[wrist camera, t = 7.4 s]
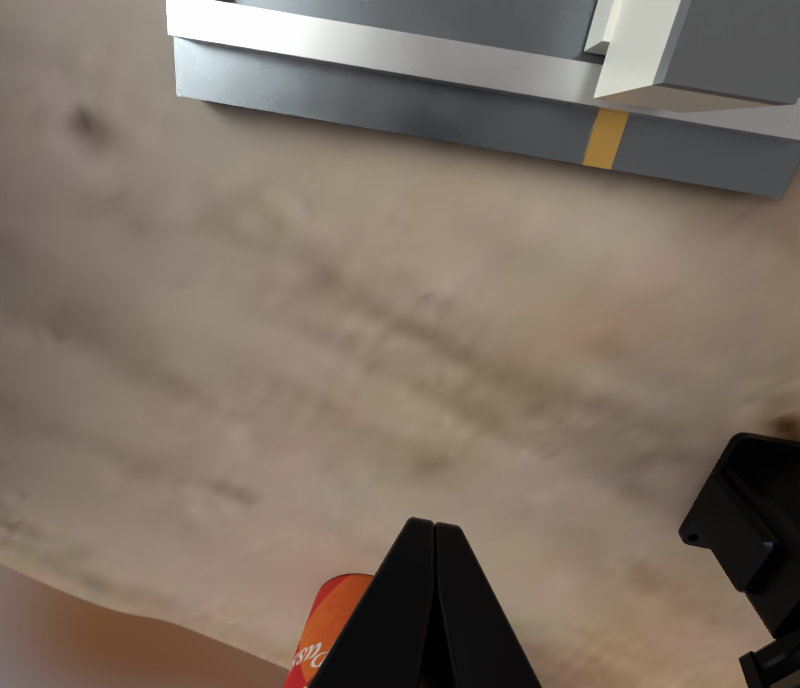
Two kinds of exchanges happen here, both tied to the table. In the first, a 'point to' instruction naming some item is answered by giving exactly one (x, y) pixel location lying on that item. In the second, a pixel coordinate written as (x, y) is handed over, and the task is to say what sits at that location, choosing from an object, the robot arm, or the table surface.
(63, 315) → the table surface
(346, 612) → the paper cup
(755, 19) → the fader tab
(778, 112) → the console
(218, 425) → the table surface
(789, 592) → the robot arm
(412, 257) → the table surface
